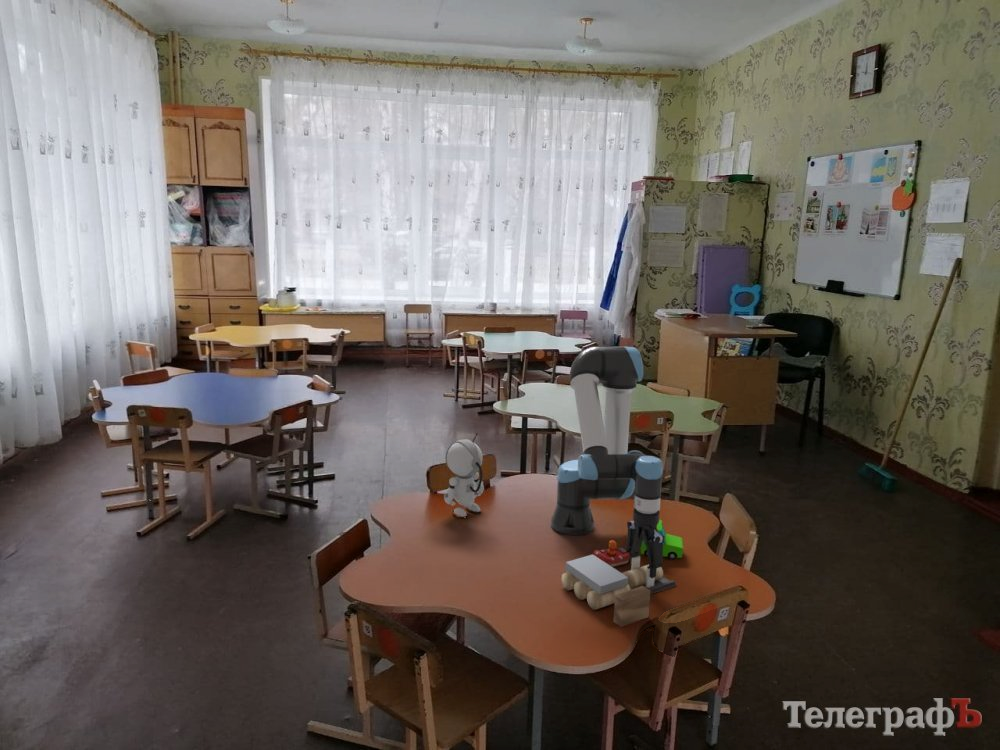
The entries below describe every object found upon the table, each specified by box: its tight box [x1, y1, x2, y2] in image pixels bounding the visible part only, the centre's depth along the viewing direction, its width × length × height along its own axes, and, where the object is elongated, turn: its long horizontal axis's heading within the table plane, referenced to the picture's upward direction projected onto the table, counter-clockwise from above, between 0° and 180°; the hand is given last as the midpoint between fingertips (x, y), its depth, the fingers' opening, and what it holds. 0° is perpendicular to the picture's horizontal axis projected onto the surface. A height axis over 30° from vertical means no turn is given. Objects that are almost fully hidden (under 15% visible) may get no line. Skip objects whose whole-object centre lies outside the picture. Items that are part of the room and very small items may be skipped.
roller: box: [623, 564, 664, 589], centre depth 211 cm, size 12×5×5 cm, turn 121°
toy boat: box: [593, 539, 630, 568], centre depth 224 cm, size 8×12×8 cm, turn 115°
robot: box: [443, 432, 484, 517], centre depth 258 cm, size 14×13×29 cm
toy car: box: [640, 519, 684, 561], centre depth 231 cm, size 10×13×10 cm
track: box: [561, 564, 677, 628], centre depth 206 cm, size 26×30×8 cm
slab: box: [565, 553, 628, 595], centre depth 205 cm, size 16×10×2 cm, turn 32°
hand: (642, 581), depth 212 cm, fingers open, 6 cm apart
